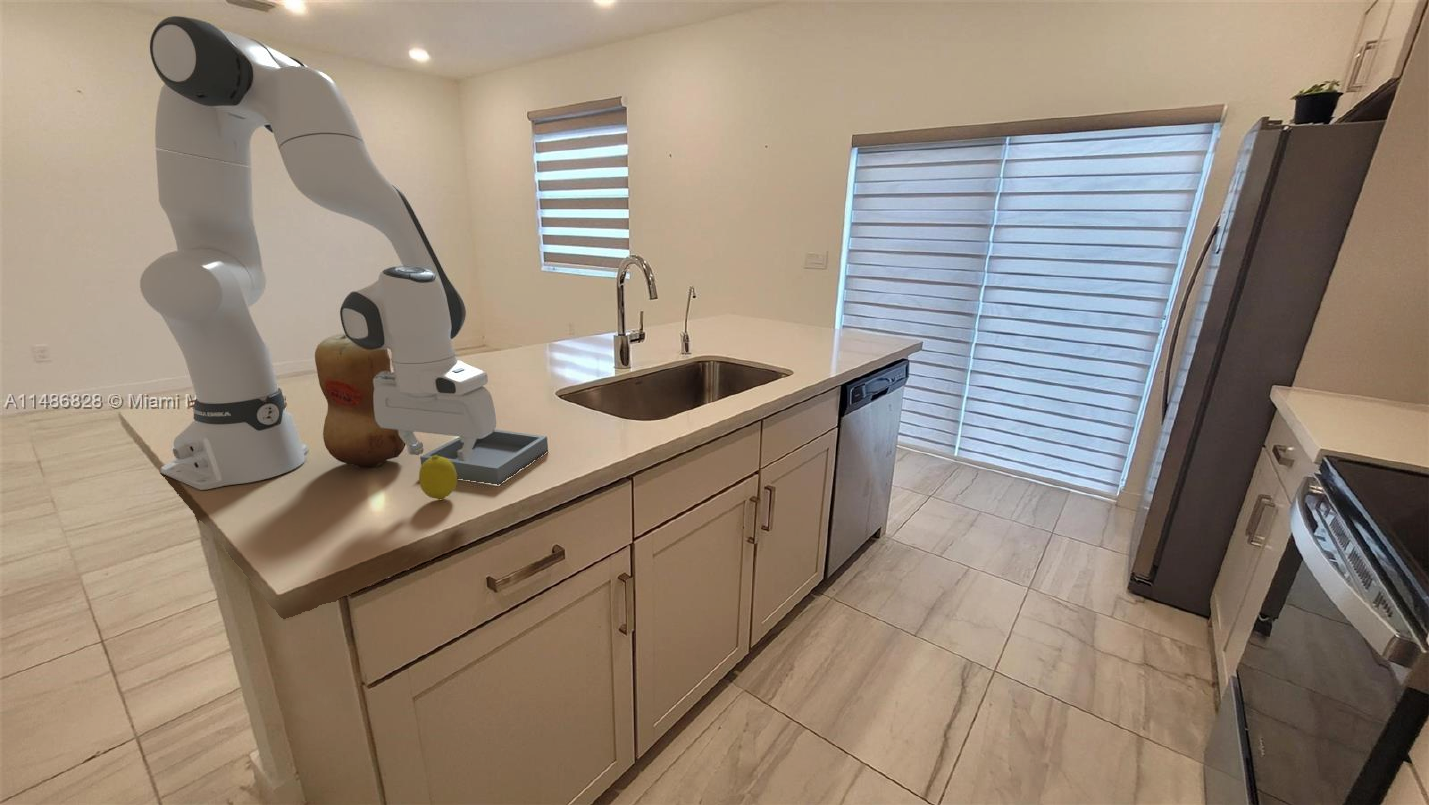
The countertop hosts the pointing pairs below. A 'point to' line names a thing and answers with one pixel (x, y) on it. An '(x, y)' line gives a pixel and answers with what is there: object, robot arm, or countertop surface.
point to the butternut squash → (353, 403)
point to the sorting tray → (493, 455)
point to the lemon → (437, 477)
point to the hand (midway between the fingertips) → (440, 456)
